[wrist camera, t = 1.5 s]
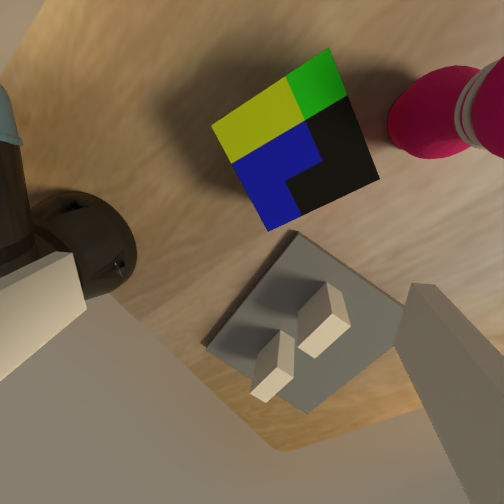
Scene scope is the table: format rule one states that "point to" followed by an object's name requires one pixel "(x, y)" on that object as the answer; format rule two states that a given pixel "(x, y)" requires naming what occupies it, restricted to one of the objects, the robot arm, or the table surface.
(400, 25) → the table surface
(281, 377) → the tile
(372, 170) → the puzzle toy
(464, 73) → the pepper mill
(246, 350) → the slate board
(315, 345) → the tile
